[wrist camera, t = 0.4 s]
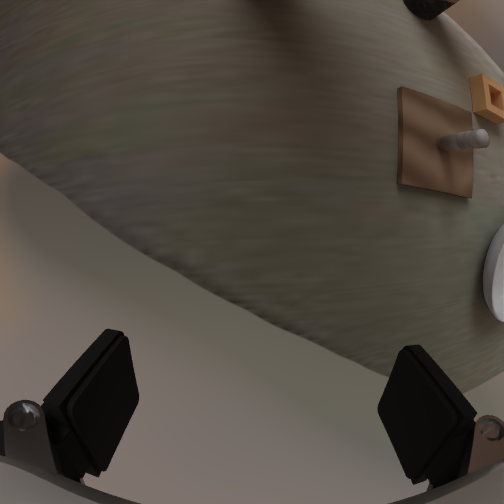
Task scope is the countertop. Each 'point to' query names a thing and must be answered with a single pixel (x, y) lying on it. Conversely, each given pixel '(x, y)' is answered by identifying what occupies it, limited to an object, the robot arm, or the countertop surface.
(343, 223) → the countertop surface
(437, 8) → the travel mug
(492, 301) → the serving bowl
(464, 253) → the countertop surface
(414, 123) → the post stand
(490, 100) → the collar
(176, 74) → the countertop surface
